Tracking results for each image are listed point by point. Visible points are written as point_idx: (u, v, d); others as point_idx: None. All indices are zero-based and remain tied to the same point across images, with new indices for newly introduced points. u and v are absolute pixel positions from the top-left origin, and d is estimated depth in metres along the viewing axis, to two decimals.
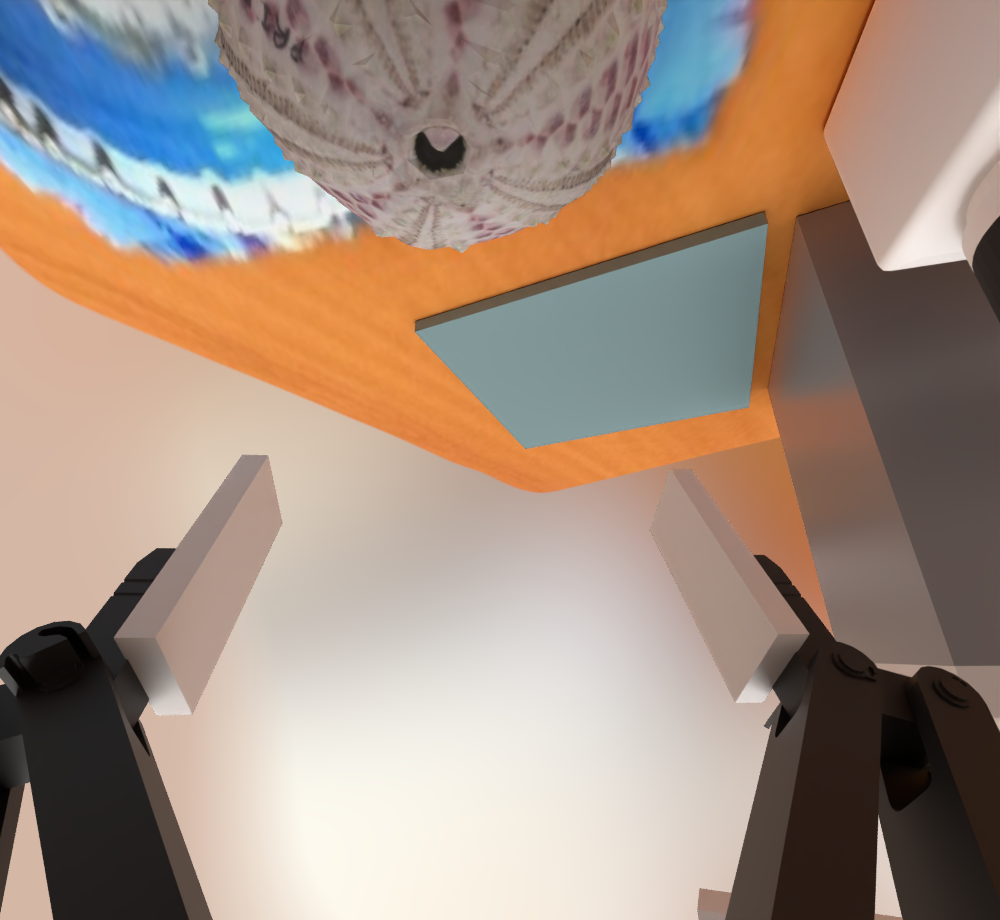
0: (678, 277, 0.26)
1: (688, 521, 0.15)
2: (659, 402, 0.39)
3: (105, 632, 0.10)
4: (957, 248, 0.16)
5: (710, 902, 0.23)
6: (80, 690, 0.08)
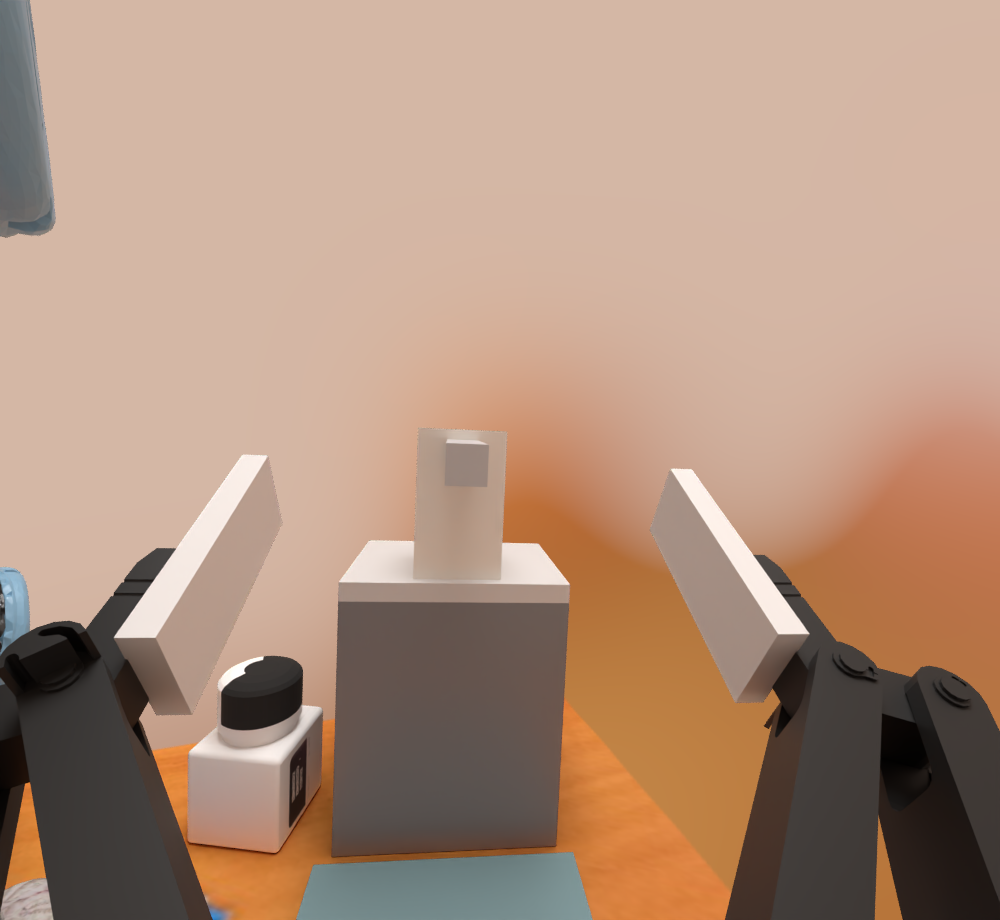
0: None
1: (688, 521, 0.15)
2: None
3: (105, 632, 0.10)
4: (279, 743, 0.39)
5: None
6: (80, 690, 0.08)
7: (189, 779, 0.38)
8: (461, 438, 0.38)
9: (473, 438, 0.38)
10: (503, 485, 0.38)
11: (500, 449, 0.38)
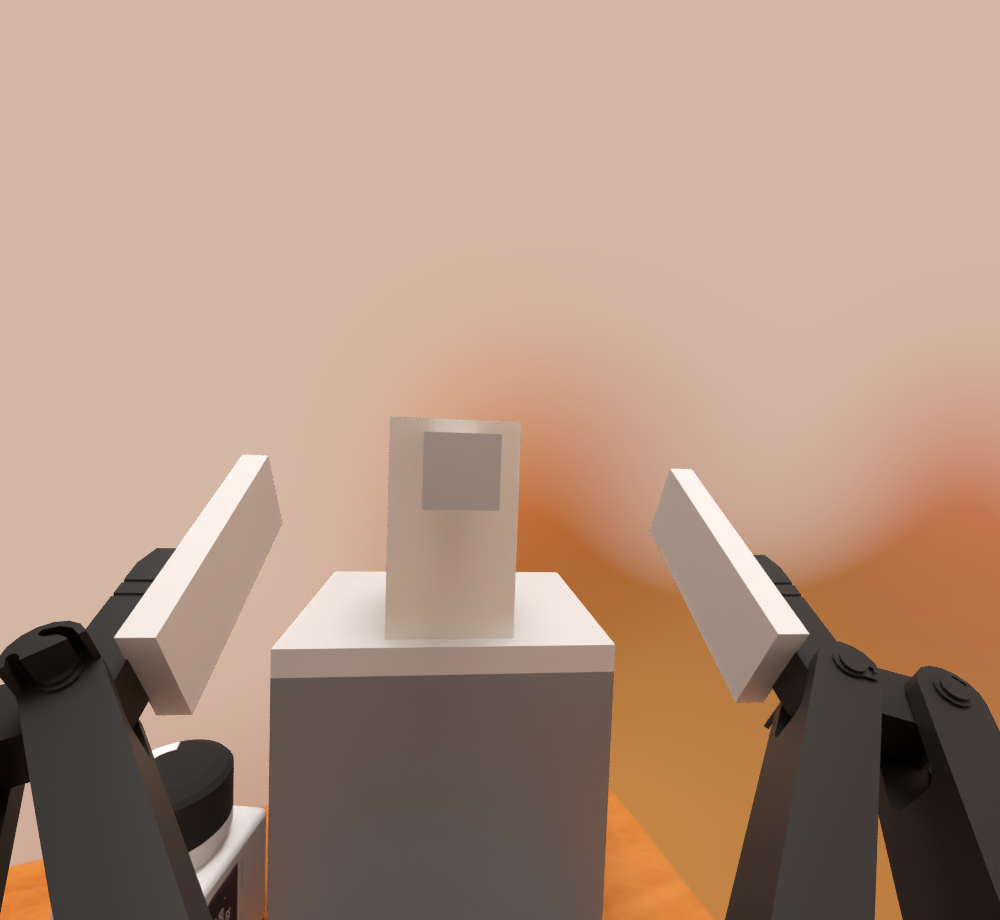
0: None
1: (688, 521, 0.15)
2: None
3: (105, 632, 0.10)
4: None
5: None
6: (80, 690, 0.08)
7: None
8: (454, 432, 0.26)
9: (472, 431, 0.26)
10: (516, 500, 0.26)
11: (511, 447, 0.26)
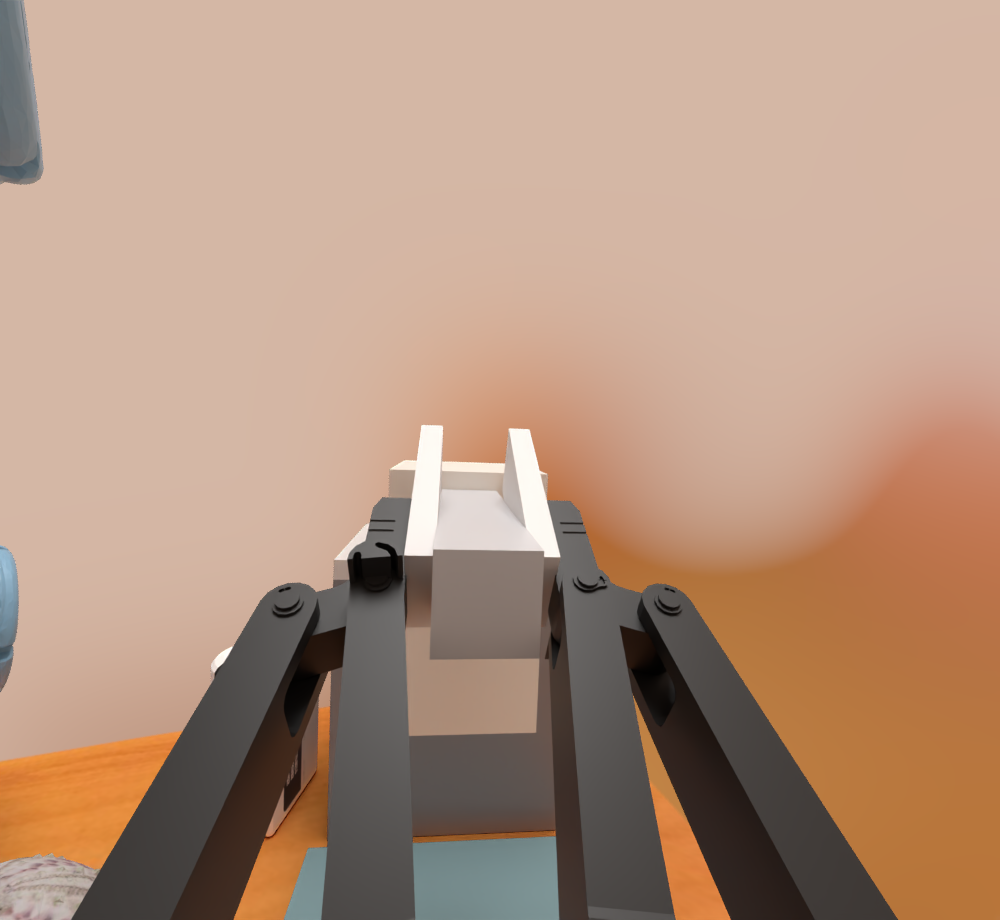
0: (319, 903, 0.31)
1: (512, 474, 0.16)
2: None
3: None
4: None
5: None
6: (386, 598, 0.11)
7: None
8: (467, 487, 0.21)
9: (488, 487, 0.21)
10: None
11: None
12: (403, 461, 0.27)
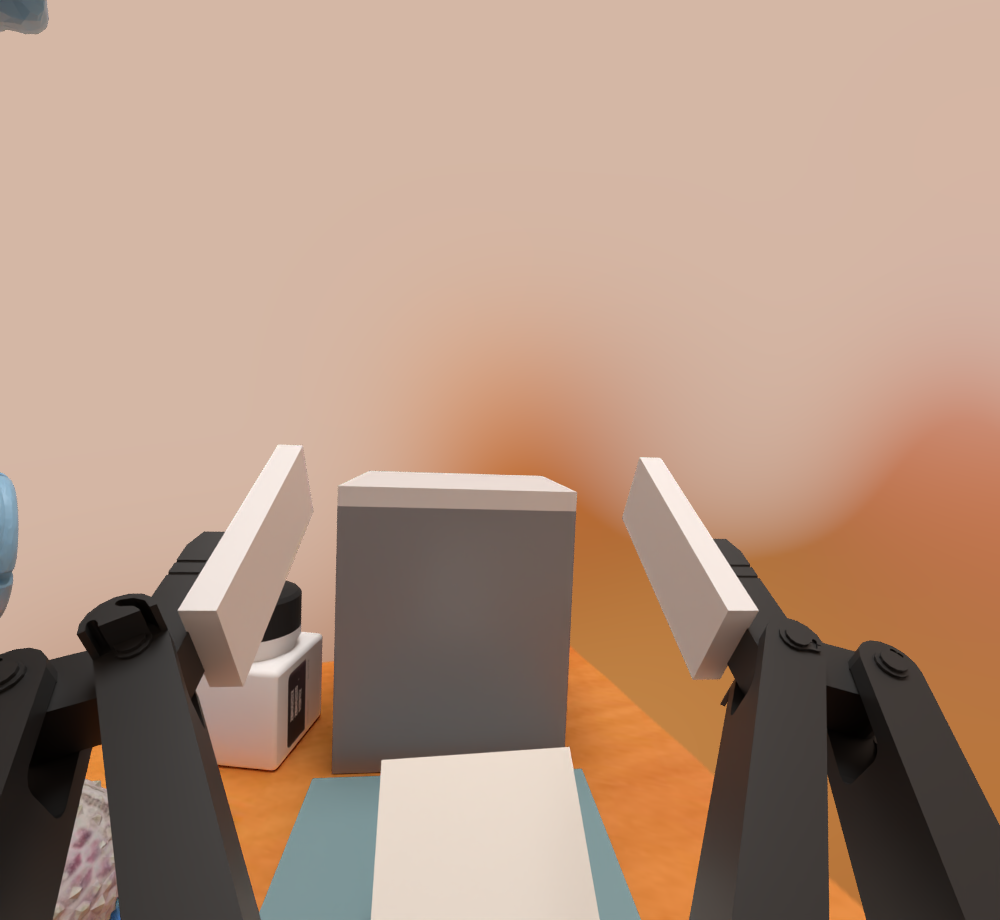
0: (324, 825, 0.31)
1: (654, 507, 0.15)
2: None
3: (165, 607, 0.11)
4: (277, 659, 0.38)
5: None
6: (148, 659, 0.09)
7: None
8: None
9: None
10: None
11: None
12: (380, 799, 0.16)
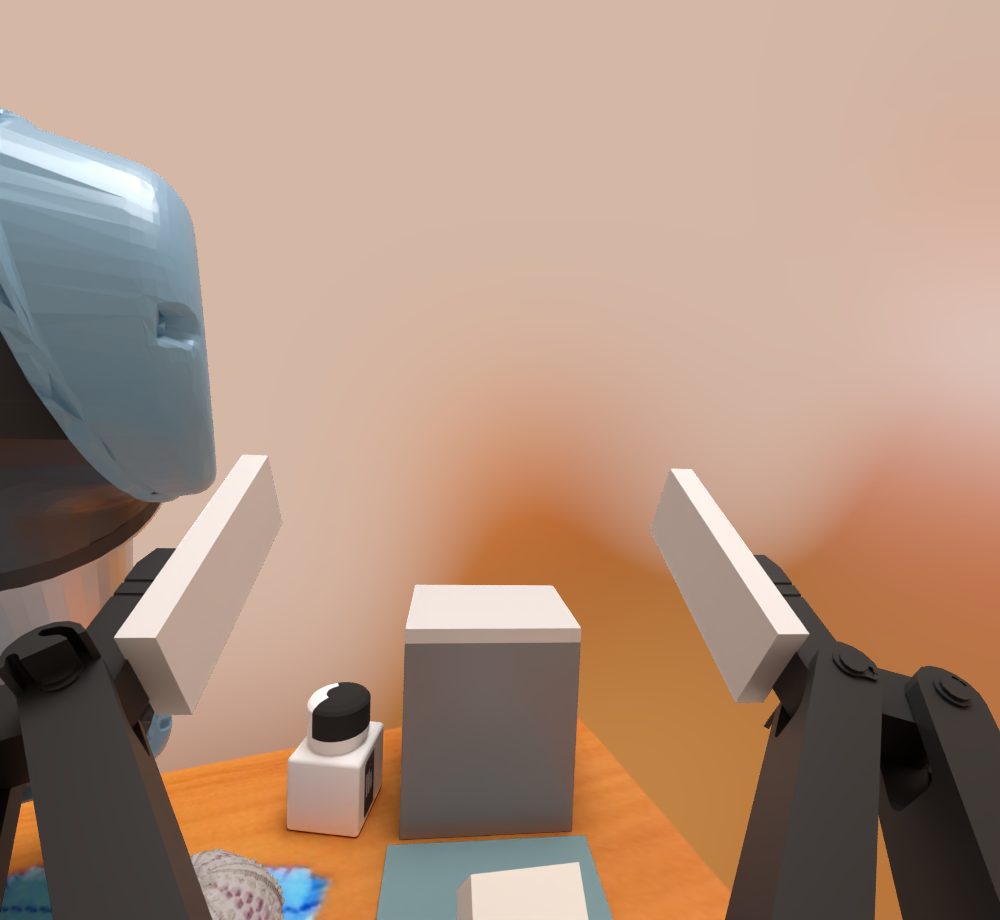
0: (403, 884, 0.43)
1: (688, 521, 0.15)
2: None
3: (105, 632, 0.10)
4: (356, 752, 0.50)
5: None
6: (80, 690, 0.08)
7: (289, 780, 0.49)
8: None
9: None
10: None
11: None
12: (472, 900, 0.29)
